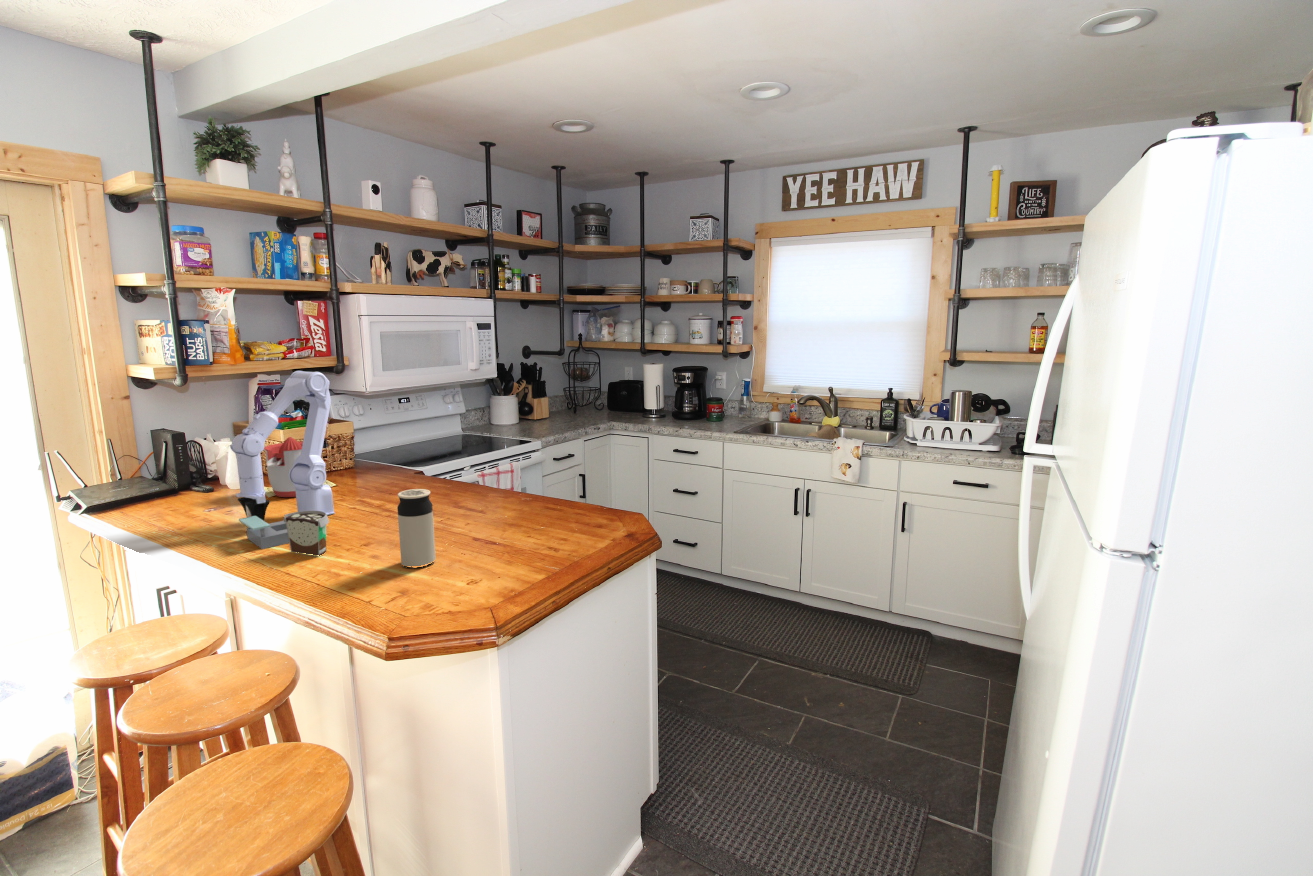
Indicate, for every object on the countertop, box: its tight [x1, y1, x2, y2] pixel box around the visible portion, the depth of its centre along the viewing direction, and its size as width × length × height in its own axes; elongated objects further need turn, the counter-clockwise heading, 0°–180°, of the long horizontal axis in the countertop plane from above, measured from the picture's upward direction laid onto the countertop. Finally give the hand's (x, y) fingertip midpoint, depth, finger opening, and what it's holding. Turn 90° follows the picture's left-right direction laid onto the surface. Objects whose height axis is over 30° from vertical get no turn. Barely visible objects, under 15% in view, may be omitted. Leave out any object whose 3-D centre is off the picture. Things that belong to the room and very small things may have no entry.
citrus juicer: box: [264, 436, 303, 498], centre depth 217 cm, size 16×17×20 cm
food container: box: [283, 511, 330, 557], centre depth 164 cm, size 12×6×10 cm, turn 71°
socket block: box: [238, 516, 290, 550], centre depth 173 cm, size 14×12×6 cm
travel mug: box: [397, 488, 437, 567], centre depth 155 cm, size 8×8×18 cm
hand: (256, 523), depth 180 cm, fingers open, 5 cm apart
